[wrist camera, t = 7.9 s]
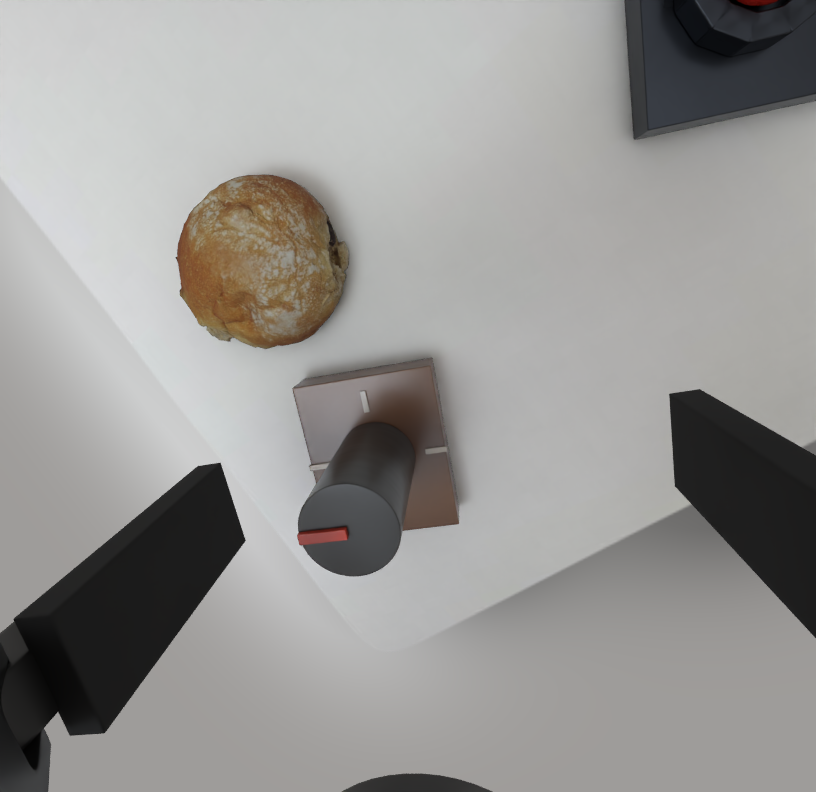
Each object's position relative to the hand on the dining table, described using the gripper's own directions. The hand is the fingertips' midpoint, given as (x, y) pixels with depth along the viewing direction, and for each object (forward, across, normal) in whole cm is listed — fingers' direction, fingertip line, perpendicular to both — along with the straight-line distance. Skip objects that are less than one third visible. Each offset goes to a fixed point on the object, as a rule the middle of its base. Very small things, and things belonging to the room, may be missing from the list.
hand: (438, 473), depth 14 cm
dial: (+16, -6, -6) cm, 18 cm away
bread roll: (+19, -10, +7) cm, 23 cm away
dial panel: (+19, -6, -6) cm, 20 cm away
